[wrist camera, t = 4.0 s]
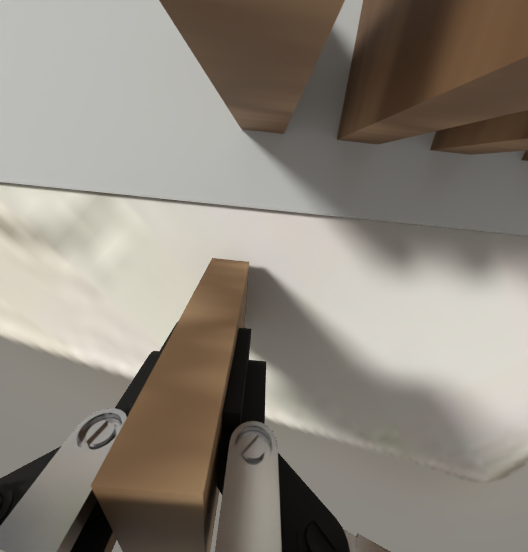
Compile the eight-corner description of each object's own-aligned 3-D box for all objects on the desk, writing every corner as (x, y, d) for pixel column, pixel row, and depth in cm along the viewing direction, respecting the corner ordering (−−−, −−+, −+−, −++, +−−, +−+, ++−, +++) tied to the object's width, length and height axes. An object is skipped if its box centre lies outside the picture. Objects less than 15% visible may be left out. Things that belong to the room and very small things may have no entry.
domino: (249, 262, 13) (202, 495, 4) (243, 332, 16) (205, 577, 7) (212, 258, 13) (90, 485, 4) (212, 329, 16) (132, 572, 7)
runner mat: (743, -89, 9) (758, -97, 8) (553, 237, 14) (559, 239, 13) (-288, -236, 8) (-308, -251, 8) (-101, 170, 13) (-110, 170, 12)
